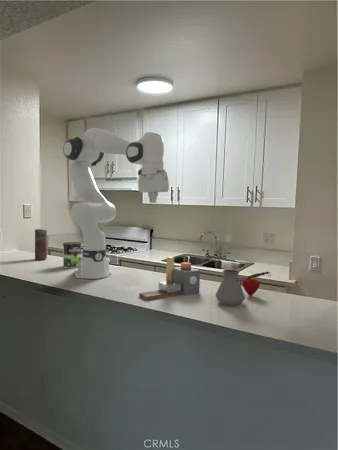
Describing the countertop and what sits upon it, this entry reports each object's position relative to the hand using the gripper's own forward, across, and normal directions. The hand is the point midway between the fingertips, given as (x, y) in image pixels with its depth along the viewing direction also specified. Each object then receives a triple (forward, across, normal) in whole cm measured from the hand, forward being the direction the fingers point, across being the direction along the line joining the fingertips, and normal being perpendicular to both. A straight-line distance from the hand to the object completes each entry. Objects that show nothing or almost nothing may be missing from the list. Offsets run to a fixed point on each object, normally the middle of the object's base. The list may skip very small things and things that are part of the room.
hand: (152, 202), depth 136 cm
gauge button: (+38, -8, -13) cm, 41 cm away
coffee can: (+39, +67, +15) cm, 79 cm away
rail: (+39, -8, 0) cm, 40 cm away
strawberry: (+39, -28, -33) cm, 58 cm away
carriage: (+37, -8, -4) cm, 38 cm away
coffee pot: (+39, -35, -20) cm, 56 cm away
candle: (+39, +98, +26) cm, 109 cm away
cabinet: (+39, -8, -13) cm, 42 cm away
